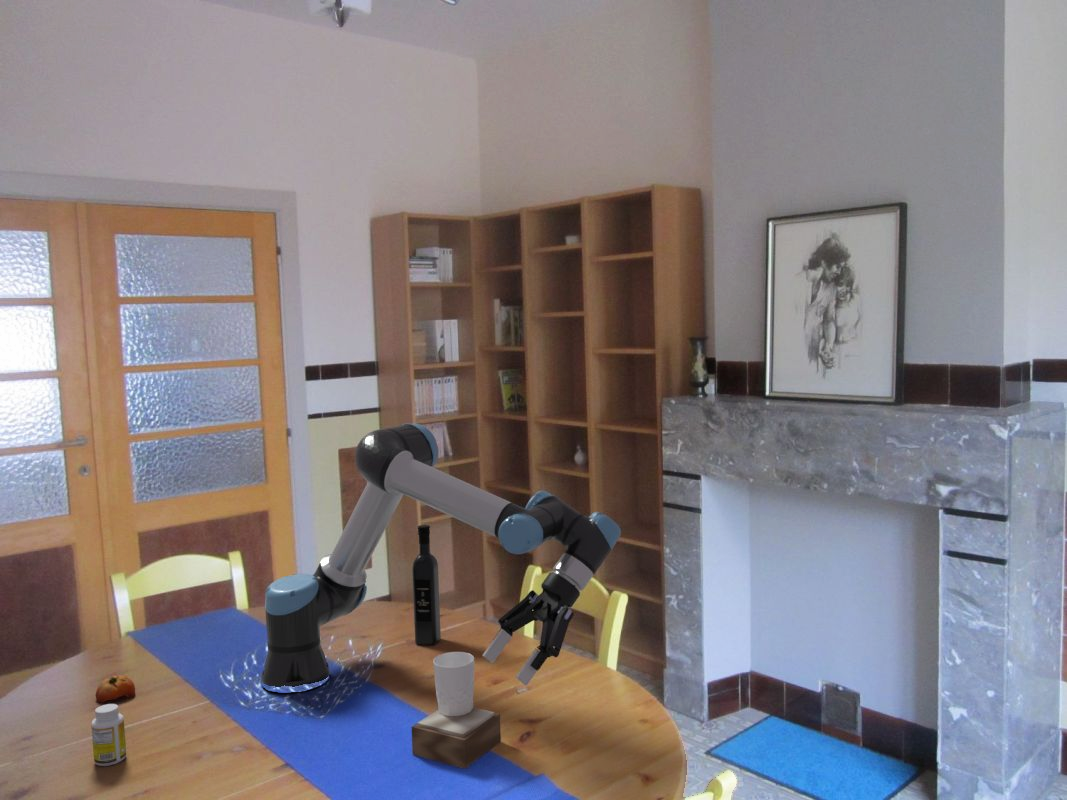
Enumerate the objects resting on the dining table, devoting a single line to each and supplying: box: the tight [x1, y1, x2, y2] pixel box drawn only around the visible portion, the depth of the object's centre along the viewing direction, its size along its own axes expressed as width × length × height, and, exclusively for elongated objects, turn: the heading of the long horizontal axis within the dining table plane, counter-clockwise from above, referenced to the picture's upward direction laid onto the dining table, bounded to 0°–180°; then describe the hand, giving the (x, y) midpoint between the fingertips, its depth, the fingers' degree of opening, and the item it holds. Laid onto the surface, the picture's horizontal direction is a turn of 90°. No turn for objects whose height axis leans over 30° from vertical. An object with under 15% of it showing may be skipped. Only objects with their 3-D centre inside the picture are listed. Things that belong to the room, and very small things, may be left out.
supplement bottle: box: [90, 703, 127, 767], centre depth 168 cm, size 6×6×10 cm
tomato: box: [95, 675, 136, 703], centre depth 199 cm, size 8×7×7 cm
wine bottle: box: [411, 524, 442, 646], centre depth 226 cm, size 6×6×30 cm
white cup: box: [432, 651, 475, 717], centre depth 172 cm, size 8×8×10 cm
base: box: [411, 706, 502, 770], centre depth 170 cm, size 12×12×6 cm
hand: (503, 670), depth 174 cm, fingers open, 13 cm apart
